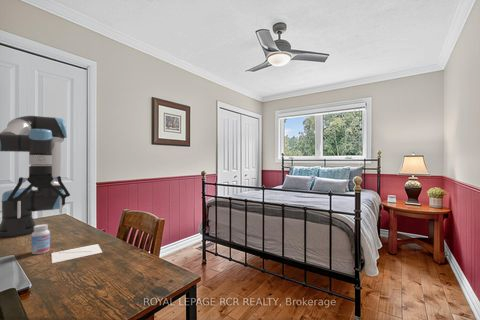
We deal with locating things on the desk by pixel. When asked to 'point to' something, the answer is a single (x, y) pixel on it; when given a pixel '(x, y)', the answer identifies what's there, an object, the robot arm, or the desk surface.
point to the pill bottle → (40, 239)
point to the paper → (75, 253)
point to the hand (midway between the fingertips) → (40, 215)
